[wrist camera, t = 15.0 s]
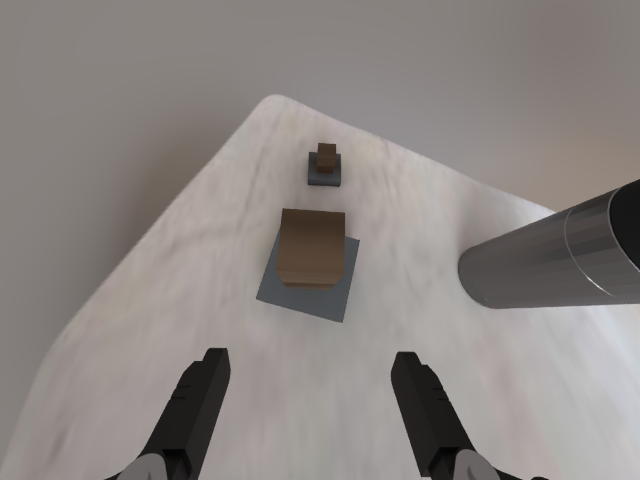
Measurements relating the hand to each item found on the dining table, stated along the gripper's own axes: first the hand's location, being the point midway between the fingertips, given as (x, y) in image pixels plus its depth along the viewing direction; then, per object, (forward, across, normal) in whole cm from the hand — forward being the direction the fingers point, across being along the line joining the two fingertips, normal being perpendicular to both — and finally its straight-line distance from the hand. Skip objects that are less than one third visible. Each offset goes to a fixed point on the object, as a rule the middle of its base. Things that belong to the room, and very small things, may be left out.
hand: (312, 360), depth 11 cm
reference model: (+30, -2, -4) cm, 31 cm away
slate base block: (+19, 0, +8) cm, 21 cm away
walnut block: (+15, 0, +5) cm, 16 cm away
